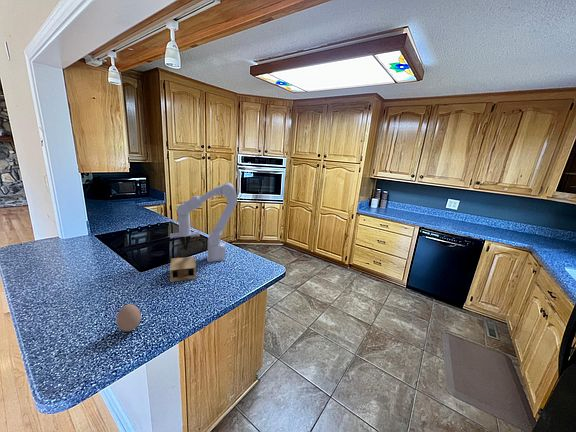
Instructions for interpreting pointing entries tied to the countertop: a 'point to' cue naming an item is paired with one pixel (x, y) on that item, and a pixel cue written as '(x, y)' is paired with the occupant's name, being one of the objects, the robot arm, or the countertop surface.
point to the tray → (182, 272)
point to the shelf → (182, 267)
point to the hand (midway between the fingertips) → (185, 249)
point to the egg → (128, 317)
